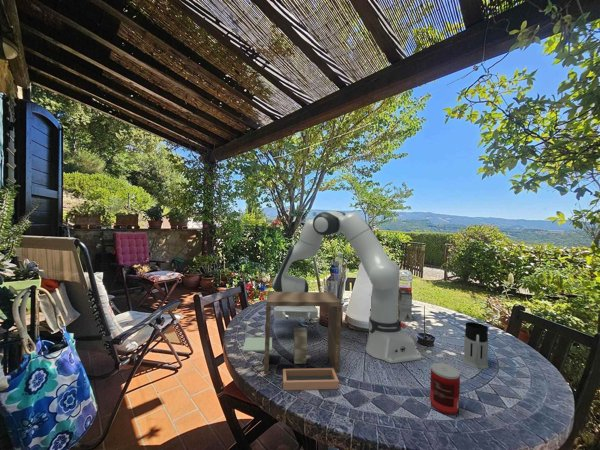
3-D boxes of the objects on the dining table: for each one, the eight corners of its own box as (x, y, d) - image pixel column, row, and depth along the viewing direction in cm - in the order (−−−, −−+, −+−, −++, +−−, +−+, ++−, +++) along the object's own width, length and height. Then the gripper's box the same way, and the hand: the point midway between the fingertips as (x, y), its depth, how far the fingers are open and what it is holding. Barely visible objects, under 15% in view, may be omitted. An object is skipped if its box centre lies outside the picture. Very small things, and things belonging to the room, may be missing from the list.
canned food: (448, 397, 84) (449, 362, 84) (465, 415, 76) (466, 377, 76) (424, 397, 84) (425, 362, 84) (438, 415, 76) (440, 376, 76)
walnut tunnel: (331, 353, 110) (333, 292, 110) (339, 372, 96) (341, 302, 96) (265, 354, 108) (267, 291, 108) (264, 374, 94) (266, 301, 94)
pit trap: (333, 375, 95) (333, 368, 95) (338, 388, 87) (338, 381, 87) (282, 376, 93) (282, 368, 93) (283, 390, 85) (283, 382, 85)
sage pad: (272, 338, 123) (272, 337, 123) (271, 351, 111) (271, 349, 111) (245, 339, 122) (245, 337, 122) (242, 351, 110) (242, 350, 110)
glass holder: (487, 361, 108) (488, 324, 108) (491, 378, 96) (492, 336, 96) (462, 355, 113) (463, 320, 113) (463, 370, 101) (464, 330, 101)
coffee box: (397, 315, 161) (398, 289, 161) (408, 317, 160) (409, 290, 160) (399, 321, 152) (400, 293, 152) (411, 322, 151) (412, 294, 151)
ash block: (304, 357, 106) (305, 327, 107) (306, 363, 102) (307, 332, 102) (293, 357, 106) (294, 327, 106) (294, 363, 102) (295, 332, 102)
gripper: (273, 301, 130) (273, 310, 116) (315, 302, 131) (320, 311, 118) (273, 314, 130) (273, 325, 116) (314, 314, 132) (319, 325, 118)
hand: (297, 318), depth 117 cm, fingers open, 8 cm apart
